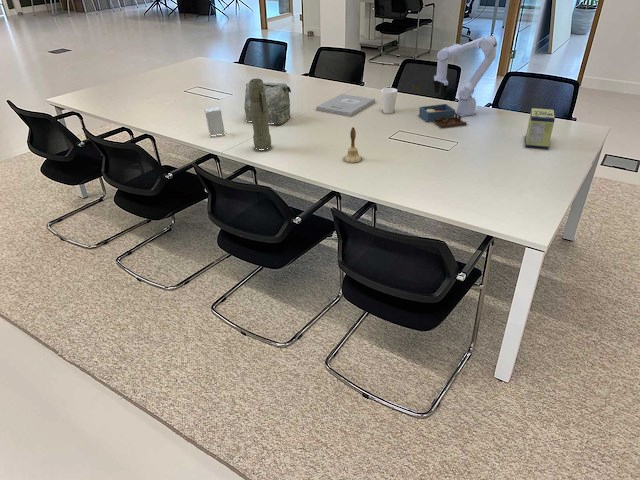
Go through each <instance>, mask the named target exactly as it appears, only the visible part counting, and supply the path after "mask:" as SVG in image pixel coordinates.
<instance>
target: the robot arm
mask: <svg viewBox="0 0 640 480" xmlns="http://www.w3.org/2000/svg"><path fill="white" fill-rule="evenodd" d="M497 47H498V41H497V38H496V37H495V36H494V35H488V36H483V37H479V38H477V39H473V40H472V41H468V42H467V43H464V44H460V43H453V44H452V45H451V46H446V47H444V48H442V49H440V50H438V52H437V53H436V58H437V66H436V75H433V80H432V81H431V82H432V85H433V89H434V93H435V94H437V93H439V95H440V97H445V96H446V93H447V91H448V89H449V87H450V84H449V81H448V79H447V74H448V66H449V62H448V61H449V59H451V58H454V57H458V56H460V55H461V54H463V53H462V52H464V51H468V50H470V49H474V48H477V49H478V50H481V51H482V53H483V56H484V59H483V60H482V61H481V63H480V65H479V66H478V67H477V69H476V70H475V71H474V73H473V74H472V76H471V78H470V79H469V80H468V81H467V83H466V84H465V85H464V87H463V88H462V89H460V90H459V91H458V104H457V110H455V114H458V117H459V116H461V117H466V116H472V115H476V105H477V100H476V98H475V97H473V96H472V95H473V94H474V92H475V88H476V87H477V85H478V84H479V82H480V80H481V79H482V78H483V77H484V75H485V73H487V71H488V70H489V68H490V66H491V65H492V64H493V62H494V61H495V60H496V56H497Z"/></svg>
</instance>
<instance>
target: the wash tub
mask: <svg viewBox="0 0 640 480" xmlns="http://www.w3.org/2000/svg"><path fill="white" fill-rule="evenodd" d="M427 109H434V110H435V111H438V112H430V113H429V112H427V111H426V110H427ZM455 111H456V109H454V108H453V107H451V106H450V105H448V104H447V103H442V104H433V105H425V106H419V112H418V117H420V118H422V120H423V121H425V122H426V123H432V122H433V123H434V121H435V120H437V119H442V117H443V116H444V119H445V118H453V117H455V114H456V113H455Z"/></svg>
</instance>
